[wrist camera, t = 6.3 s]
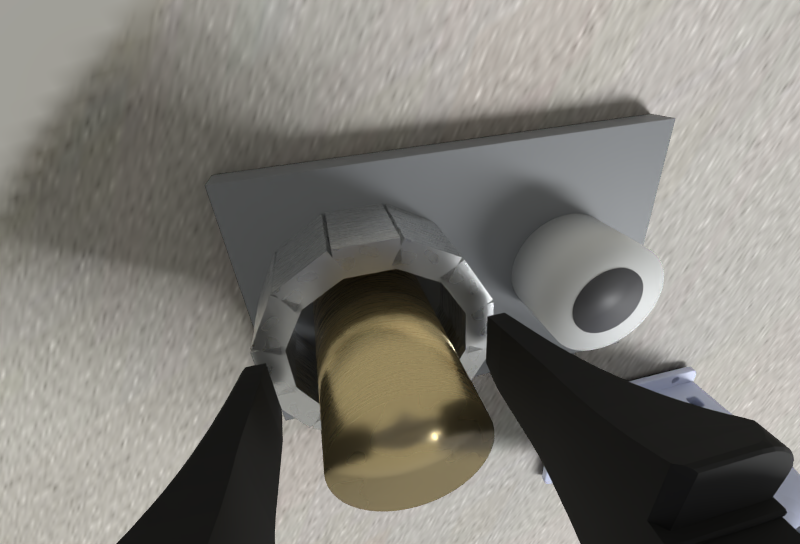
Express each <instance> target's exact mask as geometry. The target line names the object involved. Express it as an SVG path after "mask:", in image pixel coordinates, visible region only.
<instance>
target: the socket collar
mask: <svg viewBox="0 0 800 544" xmlns="http://www.w3.org/2000/svg"><path fill="white" fill-rule="evenodd" d="M325 216H326V219H325V218H324V216H323V215H322V214H321V215H319V216H318V217H317V218H316V219H314V220H313V221H312V222H310V223H309V224H308V225H307V226H305V227H304V228H303V229H301V230H300V231H299V232H298V233H296V234H295V235H294V236H293V237H291V238H290V239H289V240H287V241H286V242H285V243H284V244H282V245H281V246H280V247H278V248H277V252H276V251H275V253H274V256H273V259H272V262H271V265H270V267H269V270H268V273H267V276H266V279H265V282H264V285H263V287H262V290H261V293H260V296H259V301H258V307H257V313H256V319H255V326H254V332H253V338H252V344H251V355H252V358H253V361H254V363H255V365H259V364H264V363H266V365H267V368H268V371H269V374H270V377H271V380H272V382H273V385H274V388H275V391H276V394H277V397H278V400H279V403H280V406H281V409H282V410H284V411H285V412H287V413H288V414H290V415H291V416H293V417H294V418H296V419H297V420H299V421H300V422H302V423H303V424H305V425H306V426H308V427H309V428H310V427H311V426H313V429H318V430H321V419H320V404H319V389H318V374H317V358H316V349H315V348H314V347H313V346H312V345H311V344H309V343H308V342H307V341H306V340H305V339H303V338H302V337H301V336H300V335H299V334H297V333H296V329H295V325H296V323H297V320H298V318H299V315H300V313H301V310H302V309H304V308H305V307H306V306H308V305H309V304H310V303H312V302H313V301H314V300H316V299H317V298H318V297H320V296H321V295H322V294H324V293H325V292H326V291H328V290H329V289H330V288H332V287H333V286H334V285H336V284H337V283H338V282H340V281H341V280H342V279H344V278H349V277H355V276H360V275H365V274H371V273H376V272H382V271H387V270H392V269H399V270H402V271H406V272H409V273H412V274H415V275H418V276H422V277H425V278H428V279H431V280H434V281H438V282H439V288H440V305H439V307H438V308H437V310H436V312H435V314H436V316H437V318H438V319H439V321H440V323H441V325H442V327H443V329H444V331H445V333H446V335H447V336H448V338H449V340H450V342H451V344H452V346H453V348H454V350H455V352H456V354H457V355H458V357H459V359H460V361H461V363H462V365H463V367H464V369H465V371H466V372H467V374H468V376H469V378H470V380H472V379H473V377H474V376H475V374H476V373H477V371H478V370H479V368H480V367H481V365H482V364H483V362H484V360H485V359H486V343H487V316H491V315H493V309H494V302H493V301H492V300H493V299H492V298H491V296H490V295H489V293H488V292H487V291H486V289H485V288H484V286H483V285H482V284H481V282H480V281H479V279H478V278H477V277H476V275H475V274H474V272H473V271H472V270H471V268H470V267H469V265H468V264H467V263H466V261H465V260H464V258H463V257H462V256H461V255H460V253H459V252H458V251H457V250H456V248H455V247H454V246H453V245H452V243H451V242H450V241H449V240H448V238H447V237H446V236H445V235H444V233H443V232H442V231H441V230H440V228H439V227H438V226H437V224H435V223H434V222H432V221H430V220H427V219H424V218H422V217H419V216H416V215H414V214H411V213H408V212H406V211H403V210H401V209H398V208H395V207H393V206H390V205H387V204H385V206H384V207H383V205H382V203H381V204H375V205H368V206H362V207H356V208H350V209H343V210H337V211H331V212H325Z"/></svg>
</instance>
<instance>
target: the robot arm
mask: <svg viewBox="0 0 800 544" xmlns="http://www.w3.org/2000/svg"><path fill="white" fill-rule="evenodd" d="M486 364H487V366H488V368H489V371H490V373H491V375H492V377H493V380H494V382H495V384H496V386H497V388H498V390H499V392H500V393H501V395H502V397H503V398H504V400H505V401H506V403H507V405H508V406H509V408H510V410H511V411H512V413H513V414H514V416H515V418H516V419H517V421H518V422H519V424H520V426H521V427H522V429H523V430H524V432H525V434H526V435H527V437H528V438H529V440H530V442H531V443H532V445H533V446H534V448H535V450H536V452H537V453H538V455H539V457H540V459H541V461H542V463H543V465H544V468H543V474H542V479H543V480H544V482H545V483H547V484H551V483H553V485H554V487H555V489H556V491H557V493H558V495H559V497H560V499H561V502H562V504H563V506H564V508H565V510H566V512H567V514H568V516H569V519H570V521H571V523H572V525H573V528H574V530H575V532H576V534H577V537H578V539H579V541H580V543H581V544H800V475H799V473H798V472H797V471H796V470H795V469H794V468H793V461H794V458H793V454H792V452H791V450H790V449H789V448H788V447H786V446H785V445H784V444H783V443H781V442H780V441H779V440H778V439H777V438H775V437H774V436H773V435H772V434H770V433H769V432H768V431H767V430H765V429H764V428H763V427H762V426H761V425H759V424H758V423H757V422H755V421H754V420H750V419H746V418H742V417H738V416H734V415H732V414H731V413H730V412H729V411H728V410H726V409H725V408H724V407H723V406H722V405H720V404H719V403H718V402H717V401H716V400H714V399H713V398H712V397H711V396H710V395H708V394H707V393H706V392H705V391H704V390H702V389H701V388H700V387H699V386H698V385H697V384H695V383H694V382H693V381H694V378H695V376H696V371H695V370H694V369H693V368H692V367H684V368H680V369H676V370H672V371H668V372H664V373H660V374H656V375H652V376H648V377H644V378H640V379H636V380H632V381H626V380H624V379H622V378H619V377H617V376H615V375H613V374H611V373H608V372H606V371H604V370H602V369H600V368H598V367H596V366H594V365H592V364H590V363H588V362H586V361H584V360H582V359H580V358H578V357H577V356H575V355H573V354H571V353H569V352H567V351H566V350H564V349H562V348H560V347H559V346H557V345H555V344H554V343H552V342H550V341H549V340H547V339H546V338H544V337H542V336H541V335H539V334H538V333H536V332H534V331H533V330H531V329H530V328H528V327H527V326H525V325H523V324H522V323H520V322H519V321H517V320H516V319H514V318H513V317H511V316H509V315H508V314H506V313H500V314H496V315H491V316H487V343H486ZM282 442H283V436H282V409H281V406H280V403H279V400H278V397H277V394H276V391H275V388H274V385H273V382H272V380H271V377H270V374H269V371H268V368H267V365H266V363H264V364H259V365H254V366H250V367H245V369H244V370H243V371H242V373H241V375H240V377H239V379H238V380H237V382H236V384H235V386H234V388H233V389H232V391H231V393H230V395H229V396H228V398H227V400H226V402H225V403H224V405H223V407H222V408H221V410H220V412H219V413H218V415H217V417H216V418H215V420H214V422H213V423H212V425H211V426H210V428H209V430H208V431H207V433H206V434H205V436H204V437H203V438H202V440H201V441H200V443H199V444H198V446H197V447H196V449H195V450H194V452H193V453H192V455H191V456H190V457H189V459H188V460H187V462H186V463H185V464H184V466H183V467H182V468H181V470H180V471H179V472H178V474H177V475H176V476H175V478H174V479H173V480H172V481H171V483H170V484H169V485H168V486H167V488H166V489H165V490H164V491H163V493H162V494H161V495H160V496H159V497H158V498H157V500H156V501H155V502H154V503H153V504H152V505H151V507H150V508H149V509H148V510H147V511H146V512H145V513H144V514H143V516H142V517H141V518H140V519H139V520H138V521H137V522H136V523H135V525H134V526H133V527H132V528H131V529H130V530H129V531H128V532H127V533H126V534H125V535H124V536H123V537H122V538H121V539H120V540H119V541H118V543H117V544H275V519H276V507H277V496H278V486H279V475H280V465H281V454H282Z"/></svg>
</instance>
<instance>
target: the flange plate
mask: <svg viewBox="0 0 800 544" xmlns="http://www.w3.org/2000/svg"><path fill="white" fill-rule="evenodd" d="M674 122H675V118H671V117H666V116H660V115H654V114H647V115H640V116H633V117H626V118H619V119H611V120H604V121H597V122H590V123H583V124H576V125H568V126H561V127H554V128H547V129H540V130H533V131H525V132H518V133H511V134H504V135H497V136H490V137H482V138H475V139H468V140H461V141H454V142H447V143H439V144H432V145H425V146H418V147H411V148H404V149H396V150H389V151H382V152H375V153H368V154H361V155H353V156H346V157H339V158H332V159H325V160H318V161H310V162H303V163H296V164H289V165H282V166H275V167H267V168H260V169H253V170H246V171H239V172H232V173H224V174H217V175H212V176H211V177H210V179H209V180H208V182H207V183H206V184H205V188H206V190H207V193H208V196H209V199H210V202H211V205H212V208H213V211H214V214H215V217H216V220H217V222H218V225H219V228H220V231H221V234H222V237H223V240H224V243H225V246H226V249H227V252H228V254H229V257H230V260H231V263H232V266H233V269H234V272H235V275H236V278H237V281H238V284H239V286H240V289H241V292H242V295H243V298H244V301H245V304H246V307H247V310H248V313H249V316H250V318H251V321H252V324H253V327H254V326H255V319H256V313H257V307H258V301H259V296H260V293H261V290H262V287H263V285H264V282H265V279H266V276H267V273H268V270H269V267H270V265H271V262H272V259H273V256H274V253H275V251H276V252H277V248H278V247H280V246H281V245H282V244H284V243H285V242H286V241H287V240H289V239H290V238H291V237H293V236H294V235H295V234H296V233H298V232H299V231H300V230H301V229H303V228H304V227H305V226H307V225H308V224H309V223H310V222H312V221H313V220H314V219H316V218H317V217H318V216H319V215H321V214H322V215H323V216H324V218H325V219H326V216H325V212H331V211H337V210H343V209H350V208H356V207H362V206H368V205H375V204H381V203H382V205H383V207H384V206H385V204H387V205H390V206H393V207H395V208H398V209H401V210H403V211H406V212H408V213H411V214H414V215H416V216H419V217H422V218H424V219H427V220H430V221H432V222H434V223H435V224H437V226H438V227H439V228H440V230H441V231H442V232H443V233H444V235H445V236H446V237H447V238H448V240H449V241H450V242H451V243H452V245H453V246H454V247H455V248H456V250H457V251H458V252H459V253H460V255H461V256H462V257H463V258H464V260H465V261H466V263H467V264H468V265H469V267H470V268H471V270H472V271H473V272H474V274H475V275H476V277H477V278H478V279H479V281H480V282H481V284H482V285H483V286H484V288H485V289H486V291H487V292H488V293H489V295H490V296H491V298H492V299H493V300H492V301H493V302H494V309H493V315H496V314H500V313H506V314H508V315H509V316H511V317H513V318H514V319H516V320H517V321H519V322H520V323H522V324H523V325H525V326H527V327H528V328H530V329H531V330H533V331H534V332H536V333H538V334H539V335H541V336H542V337H544V338H546V339H547V340H549V341H550V342H552V343H554V344H555V345H557V346H559V347H560V348H562V349H564V350H566V351H567V352H569V353H571V354H572V353H576V352H580V351H586V350H594V349H599V348H602V347H605V346H608V345H610V344H614V343H619V340H620V339H622V338H623V337H625V336H626V335H628V334H629V333H630V332H632V331H633V330H634V329H635V328H636V327H638V326H639V325H640V324H641V323H642V322H643V321H644V319H645V318H646V317H647V316H648V315H649V313H650V312H651V311H652V309H653V308H654V306H655V304H656V302H657V300H658V298H659V296H660V294H661V291H662V287H663V283H664V269H663V265H662V262H661V260H660V258H659V257H658V256H657V254H655V253H654V252H653V251H652V250H650V249H649V248H647V247H645V246H643V244H644V240H645V236H646V232H647V228H648V224H649V221H650V217H651V213H652V209H653V205H654V201H655V197H656V193H657V189H658V185H659V181H660V177H661V173H662V169H663V165H664V161H665V157H666V153H667V150H668V146H669V142H670V138H671V134H672V130H673V126H674ZM414 275H415V274H414ZM415 276H416V278H417V280H418V282H419V283H420V285H421V287H422V289H423V291H424V293H425V295H426V297H427V299H428V300H429V302H430V304H431V306H432V308H433V310H434V312H436V310H437V308H438V307H439V305H440V288H439V282H438V281H434V280H431V279H428V278H425V277H422V276H418V275H415ZM313 302H314V301H313ZM313 302H312V303H310V304H309V305H308V306H306V307H305V308H304V309H302V310H301V313H300V315H299V318H298V320H297V323H296V325H295V329H296V333H297V334H299V335H300V336H301V337H302V338H303V339H305V340H306V341H307V342H308V343H309V344H311V345H312V346H313V347H314V348H315V349H316V343H315V328H314V313H313ZM486 373H490V371H489V368H488V366H487V364H486V359H485V360H484V362H483V364H482V365H481V367H480V368H479V370H478V371H477V373H476V374H475V376H478V375H482V374H486ZM282 412H283V414H284V417H285V420H290V419H294V417H293V416H291V415H290V414H288V413H287V412H285V411H284V410H282Z"/></svg>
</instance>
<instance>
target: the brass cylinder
mask: <svg viewBox="0 0 800 544" xmlns="http://www.w3.org/2000/svg"><path fill="white" fill-rule="evenodd" d="M313 313H314V328H315V343H316V358H317V374H318V389H319V404H320V419H321V434H322V449H323V464H324V475H325V481H326V483H327V486H328V488H329V489H330V490H331V492H332V493H333V494H334V495H335V496H336V497H337V498H338V499H340V500H341V501H342V502H344V503H346V504H348V505H350V506H353V507H356V508H359V509H364V510H369V511H397V510H403V509H409V508H413V507H417V506H420V505H423V504H427V503H429V502H432V501H434V500H437V499H439V498H441V497H443V496H445V495H447V494H449V493H450V492H452V491H454V490H455V489H457V488H458V487H460V486H461V485H463V484H464V483H465V482H466V481H468V480H469V479H470V478H471V477H472V476H473V475H474V474H475V473H476V472H477V471H478V470H479V469H480V467H481V466H482V465H483V464H484V462H485V461H486V459H487V457H488V455H489V453H490V451H491V449H492V446H493V442H494V427H493V422H492V420H491V418H490V416H489V414H488V412H487V410H486V409H485V407H484V405H483V403H482V401H481V399H480V397H479V395H478V393H477V391H476V390H475V388H474V386H473V384H472V382H471V380H470V378H469V376H468V374H467V372H466V371H465V369H464V367H463V365H462V363H461V361H460V359H459V357H458V355H457V354H456V352H455V350H454V348H453V346H452V344H451V342H450V340H449V338H448V336H447V335H446V333H445V331H444V329H443V327H442V325H441V323H440V321H439V319H438V318H437V316H436V314H435V312H434V310H433V308H432V306H431V304H430V302H429V300H428V299H427V297H426V295H425V293H424V291H423V289H422V287H421V285H420V283H419V282H418V280H417V278H416V276H415V275H414V274H412V273H409V272H406V271H402V270H399V269H392V270H387V271H382V272H376V273H371V274H365V275H360V276H355V277H349V278H344V279H342V280H341V281H340V282H338V283H337V284H336V285H334V286H333V287H332V288H330V289H329V290H328V291H326V292H325V293H324V294H322V295H321V296H320V297H318V298H317V299H316V300H314V302H313Z"/></svg>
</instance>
